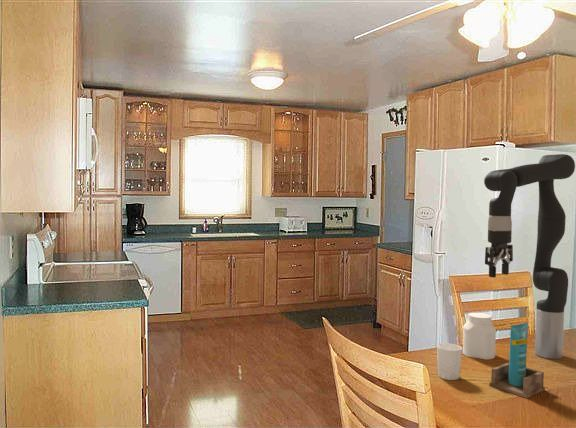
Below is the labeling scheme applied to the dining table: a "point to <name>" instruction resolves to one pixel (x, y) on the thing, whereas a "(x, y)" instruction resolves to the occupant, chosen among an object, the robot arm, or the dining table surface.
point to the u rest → (530, 386)
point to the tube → (518, 354)
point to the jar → (479, 336)
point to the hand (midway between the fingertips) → (498, 275)
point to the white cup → (449, 361)
